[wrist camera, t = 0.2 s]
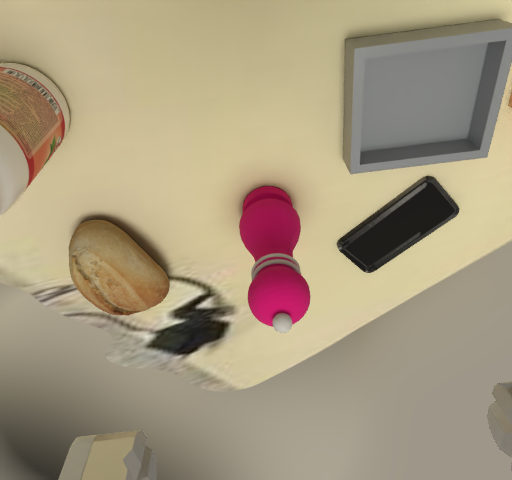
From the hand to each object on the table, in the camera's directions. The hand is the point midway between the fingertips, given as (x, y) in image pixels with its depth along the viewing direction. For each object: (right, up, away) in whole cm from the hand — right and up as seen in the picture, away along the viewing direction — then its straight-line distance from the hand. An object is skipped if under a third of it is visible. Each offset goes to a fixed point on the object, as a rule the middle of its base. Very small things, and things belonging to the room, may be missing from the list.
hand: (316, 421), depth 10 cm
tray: (+16, +20, +35) cm, 43 cm away
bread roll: (-19, +2, +47) cm, 50 cm away
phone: (+17, +6, +46) cm, 50 cm away
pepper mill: (0, +9, +43) cm, 44 cm away
